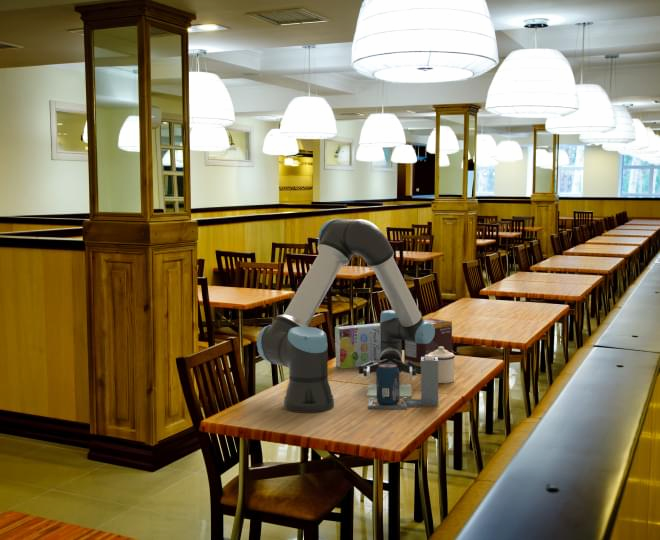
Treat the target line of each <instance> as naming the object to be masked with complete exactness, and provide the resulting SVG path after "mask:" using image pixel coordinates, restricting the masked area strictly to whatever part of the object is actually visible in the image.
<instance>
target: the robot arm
mask: <svg viewBox="0 0 660 540" xmlns="http://www.w3.org/2000/svg"><path fill="white" fill-rule="evenodd" d="M317 238H318V240H317V243H318V245H317V247H316V248H317V252H318V254H317V256H316V258H315V259H314V261H313V263H312V265H311V266H310V268H309V270H308V272H307V273H306V275H305V277H304V279H303V280H302V282H301V284H300V285H299V287H298V289H297V290H296V292H295V294H294V296H293V297H292V299H291V301H290V302H289V304H288V306H287V308H286V310H285V311H284V313H283V314H279V315H277V316H276V317H275V319H274V321H273V322H272V324H269V325H267V326H264V327H263V328H261V329H260V332H259V333H258V335H257V339H256V346H257V352H258V354H259V355H260V357H261V358H262V359H263V360H265V361H267V362H269V363H270V364H272V365H278V366H282V367H286V368H288V376H289V377H288V378H289V379H288V385H287V388H286V392H285V396H284V399H283V406H284V409H286V410H287V411H290V412H296V413H318V412H323V411H325V412H326V411H328V410H330V409H332V408H333V407H334V406H335V398H334V395H333V394H332V391H331V386H330V383H329V377H328V373H329V372H328V369H329V368H328V366H329V365H328V359H329V357H328V356H329V355H328V354H329V353H328V351H329V350H328V347H329V346H328V345H329V344H328V338H327V333H326V332H325V331H324V330H322V329H320V328H317V327H313V326H310V327H309V325H310V323H311V321H312V320H313V317H314V316H315V314H316V312H317V311H318V309H319V307H320V305H321V304H322V302H323V300H324V298H325V296H326V295H327V292H328V291H329V289H330V287H331V286H332V284H333V282H334V280H335V279H336V277H337V275H338V273H339V271H340V270H341V268H342V267H344V266H348V265H349V264H350V261H351V260H352V258H353V256H360V257H361V258H362V259H364V262H365V263H366V265H367V266H368V267H371V268H372V270H373V272H374V274H375V275H376V278H377V280H378V282H379V284H380V285H381V288H382V290H383V292H384V293H385V296H386V297H387V300H388V302H389V304H390V306H391V308H392V309H389V310H387V309H386V310H382V311H381V313H380V320H379V323H380V333H381V355H380V361H378V363H375V361H374V360H370V361H369V362H367V363H365V364H362V365H360V366H359V367H358V374H360V375H361V374H363V376H364V377H366V380H368V381H369V380H370V377H371V374H372V373H376V371H377V368H378V365H379V364H382V363H394V364H397V367H398V369H399V373H402V372H403V373H406V374H409V380H410V381H412V380H413V376H416V375H421V366H419V365H417V364H415V363H413V362H411V361H410V360H408V361H406V363H404V361H402V359H403V358H402V357H403V344H402V342H403V341H404V340H406V341H410V342H415V343H421V344H428V343H430V342H431V341H432V340H433V338H434V335H435V329H434V326H433V325H432V324H431V323H429V322H427V321H424V318H423V317H422V314H421V312H420V310H419V308H418V305H417V303H416V302H415V299H414V298H413V296H412V293H411V292H410V289H409V287H408V285H407V282H406V281H405V279H404V277H403V275H402V273H401V271H400V269H399V267H398V264H397V262H396V260H395V258H394V255H395V252H394V249H393V247H392V246H391V243H390V242H389V240H388V238H387V237H386V236H385V234H384V233H383V231H381V229H380V228H379V227H378V226H376V224H375V223H373V222H371V221H369V220H368V219H367V220H366V219H363V218H362V219H361V218H359V219H354V218H353V219H351V218H350V219H346V218H340V217H339V218H335V219H334V218H333V219H330V220H328V221H326V222H325V223H323V225H321V227H320V229H319V230H318V235H317Z"/></svg>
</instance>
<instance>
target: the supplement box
mask: <svg viewBox="0 0 660 540" xmlns="http://www.w3.org/2000/svg"><path fill="white" fill-rule="evenodd" d="M423 320H424V321H427V322H429V323H431V324H432V325H433V326H434V329H435V335H434V338H433V340H432V341H431V342H430V343H428V344H421V343H415V342H410V341H406V340H403V346H404V347H403V348H404V349H403V352H404V353H403V355H404V356H403V358H404V361H403V363H406V361H408V360H410V361H411V362H413V363H415V364H417V365H419V366H421V365H420V362H421V357H425V355H428V354H429V353H431V352H434V351H435V350H438V347H440V346H442V347H444V350H447V351H448V352H451V353H453V321H451V320H446V319H440V318H435V317H431V318H423Z"/></svg>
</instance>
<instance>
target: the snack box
mask: <svg viewBox="0 0 660 540" xmlns="http://www.w3.org/2000/svg"><path fill="white" fill-rule="evenodd" d="M334 337H335V338H334V341H335V342H334V343H335V345H334V346H335V366H336V367H337V368H339V369H341V370H344V369H351V368H352V367H353V368H359V366H360V365H362V364H365V363H367V362H369V361H370V360H374V361H375V363H378V361H380V355H381V333H380V322H378V323H367V324H357V325H356V324H355V325H345V326H335V327H334ZM343 368H344V369H343Z"/></svg>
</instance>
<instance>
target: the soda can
mask: <svg viewBox="0 0 660 540" xmlns="http://www.w3.org/2000/svg"><path fill="white" fill-rule="evenodd" d="M375 373H376V375H375V376H376V384H377V397H376V402H377V403H378V405H399V402H400V399H401V398H400V394H399V384H400V372H399V369H398V367H397V364H394V363H382V364H379V365H378V368H377V371H376V372H375Z"/></svg>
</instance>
